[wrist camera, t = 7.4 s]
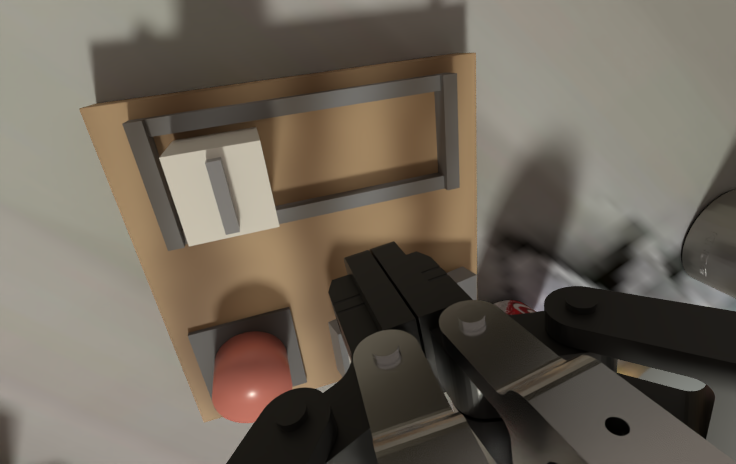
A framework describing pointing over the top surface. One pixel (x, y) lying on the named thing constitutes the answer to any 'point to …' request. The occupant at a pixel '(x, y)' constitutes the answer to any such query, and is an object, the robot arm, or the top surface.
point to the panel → (298, 199)
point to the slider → (220, 185)
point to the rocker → (459, 275)
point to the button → (249, 375)
